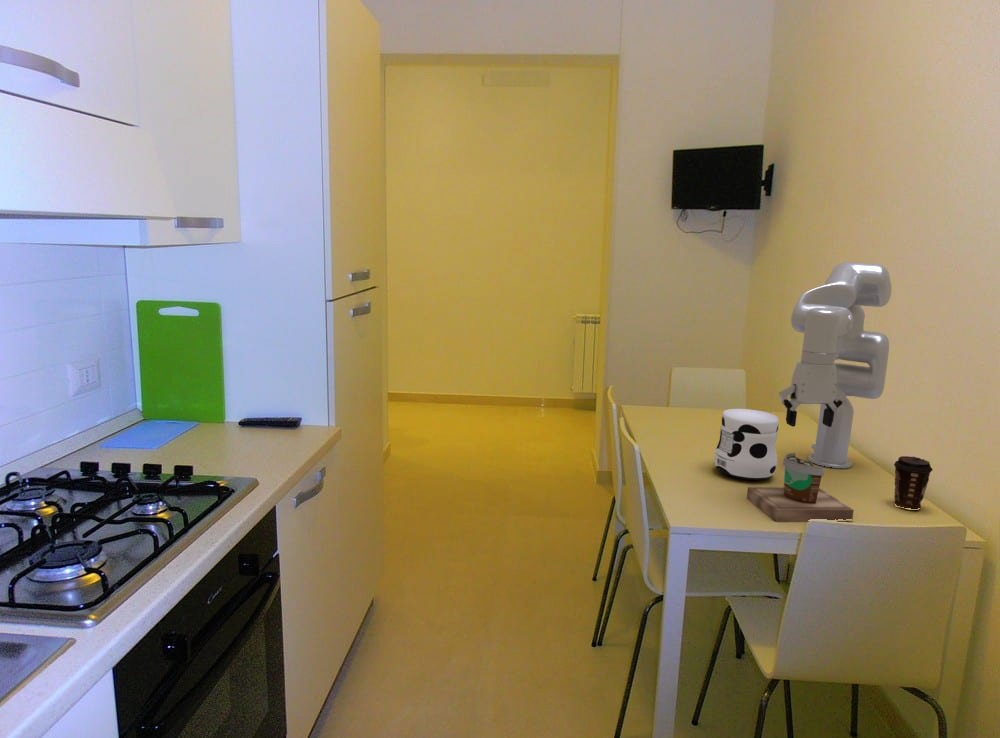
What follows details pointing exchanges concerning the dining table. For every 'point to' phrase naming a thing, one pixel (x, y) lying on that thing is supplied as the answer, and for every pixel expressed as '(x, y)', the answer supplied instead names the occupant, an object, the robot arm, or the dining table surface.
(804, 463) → the food container
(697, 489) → the dining table surface
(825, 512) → the board
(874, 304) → the robot arm
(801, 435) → the dining table surface
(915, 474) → the coffee cup
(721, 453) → the milk container
